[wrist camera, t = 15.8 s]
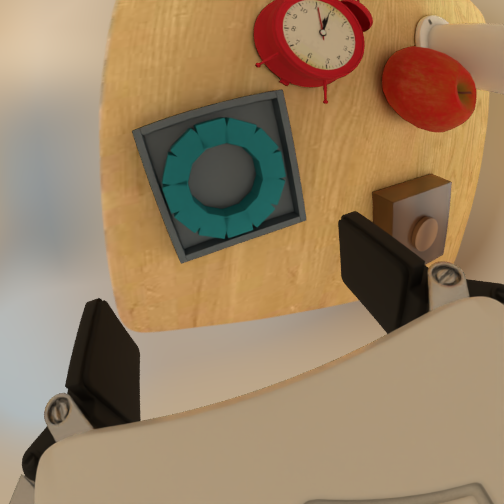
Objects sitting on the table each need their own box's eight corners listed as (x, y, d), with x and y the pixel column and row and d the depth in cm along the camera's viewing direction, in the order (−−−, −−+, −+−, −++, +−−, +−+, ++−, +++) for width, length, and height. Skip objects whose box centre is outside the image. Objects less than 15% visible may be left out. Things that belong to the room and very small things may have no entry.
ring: (263, 106, 24) (271, 106, 22) (285, 209, 29) (293, 216, 27) (148, 140, 22) (146, 142, 20) (185, 243, 28) (186, 253, 26)
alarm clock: (239, 62, 18) (320, -61, 11) (230, 60, 23) (296, -44, 15) (341, 116, 23) (408, 5, 15) (315, 102, 27) (374, 6, 20)
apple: (421, 133, 30) (483, 153, 21) (365, 109, 27) (435, 122, 18) (432, 67, 25) (494, 73, 17) (377, 34, 22) (445, 25, 13)
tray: (274, 90, 24) (282, 89, 22) (298, 213, 31) (306, 220, 29) (134, 129, 22) (131, 131, 20) (179, 253, 29) (181, 264, 27)
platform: (431, 173, 34) (456, 183, 30) (426, 243, 40) (446, 257, 36) (372, 191, 32) (397, 205, 28) (372, 269, 38) (392, 287, 34)
